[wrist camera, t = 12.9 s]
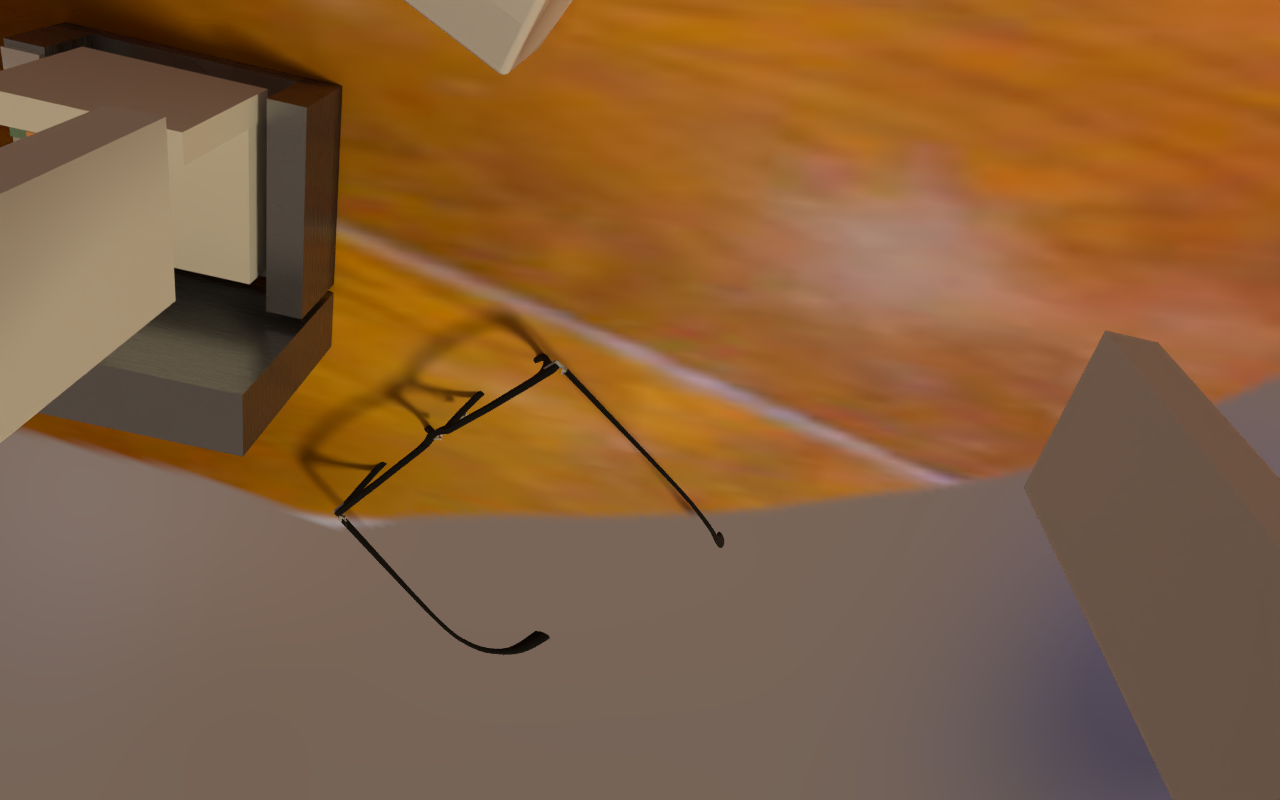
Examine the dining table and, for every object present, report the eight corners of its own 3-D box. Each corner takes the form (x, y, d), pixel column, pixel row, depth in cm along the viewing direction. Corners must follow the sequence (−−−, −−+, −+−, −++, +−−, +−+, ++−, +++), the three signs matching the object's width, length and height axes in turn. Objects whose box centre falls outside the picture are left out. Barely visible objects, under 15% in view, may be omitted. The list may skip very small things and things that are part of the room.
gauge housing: (65, 22, 40) (-116, 67, 31) (342, 86, 40) (239, 148, 32) (93, 294, 47) (-50, 393, 38) (331, 346, 47) (243, 456, 38)
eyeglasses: (568, 315, 46) (555, 352, 42) (751, 528, 51) (753, 576, 48) (340, 473, 52) (313, 518, 48) (527, 649, 57) (514, 699, 54)
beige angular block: (102, 40, 39) (-39, 82, 32) (281, 82, 39) (182, 132, 32) (117, 223, 43) (-5, 296, 36) (279, 259, 44) (191, 339, 36)
